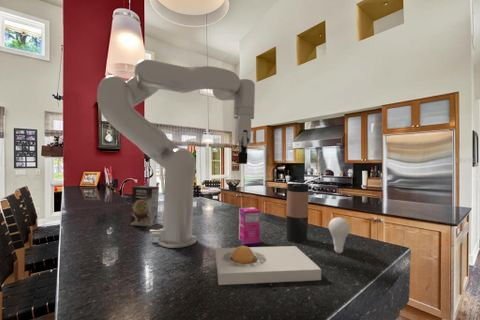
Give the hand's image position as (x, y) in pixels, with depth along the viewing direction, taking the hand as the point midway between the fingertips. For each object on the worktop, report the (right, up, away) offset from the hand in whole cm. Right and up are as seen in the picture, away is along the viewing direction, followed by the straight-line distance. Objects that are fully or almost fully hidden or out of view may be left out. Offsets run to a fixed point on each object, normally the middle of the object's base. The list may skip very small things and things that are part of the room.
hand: (242, 163), depth 88 cm
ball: (0, -24, -27) cm, 36 cm away
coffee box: (-42, -26, +14) cm, 51 cm away
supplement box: (+2, -27, -6) cm, 28 cm away
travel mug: (+20, -28, -2) cm, 34 cm away
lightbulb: (+29, -28, -14) cm, 43 cm away
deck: (+5, -27, -26) cm, 38 cm away
